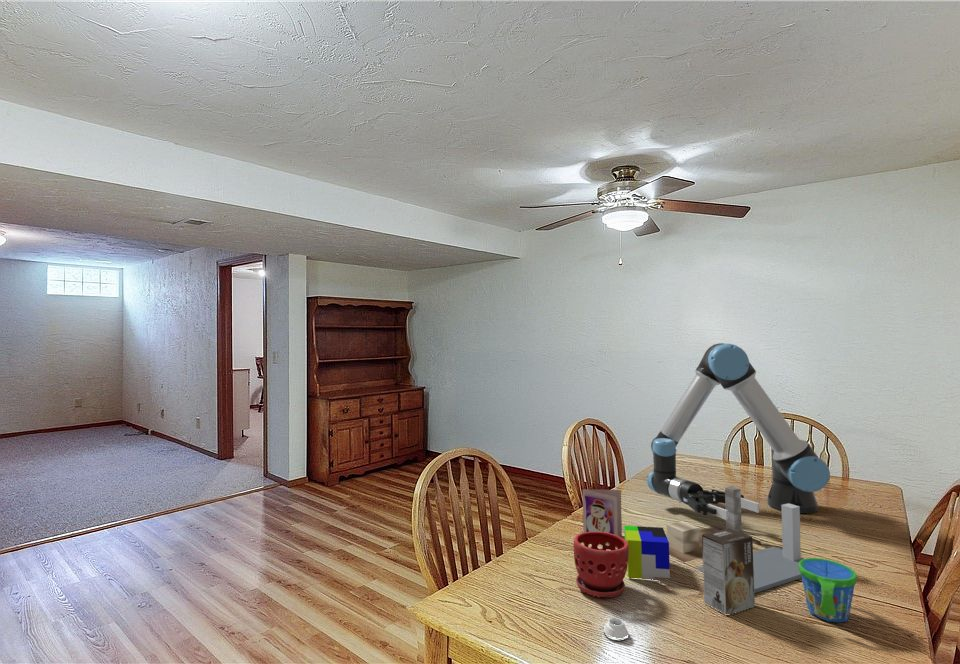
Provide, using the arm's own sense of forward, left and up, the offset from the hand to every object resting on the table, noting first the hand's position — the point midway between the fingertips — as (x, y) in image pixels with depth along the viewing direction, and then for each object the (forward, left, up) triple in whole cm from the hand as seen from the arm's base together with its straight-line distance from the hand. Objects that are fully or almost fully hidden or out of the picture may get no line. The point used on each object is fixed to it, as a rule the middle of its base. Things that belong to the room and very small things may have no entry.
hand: (743, 511), depth 149 cm
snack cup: (+17, +35, -9) cm, 40 cm away
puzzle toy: (+38, +2, -9) cm, 40 cm away
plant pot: (+54, +4, -9) cm, 55 cm away
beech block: (+20, -3, -8) cm, 22 cm away
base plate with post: (+12, +15, -9) cm, 21 cm away
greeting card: (+35, -19, -9) cm, 42 cm away
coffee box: (+33, +23, -9) cm, 41 cm away
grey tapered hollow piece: (+64, +20, -9) cm, 68 cm away
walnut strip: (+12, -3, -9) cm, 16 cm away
